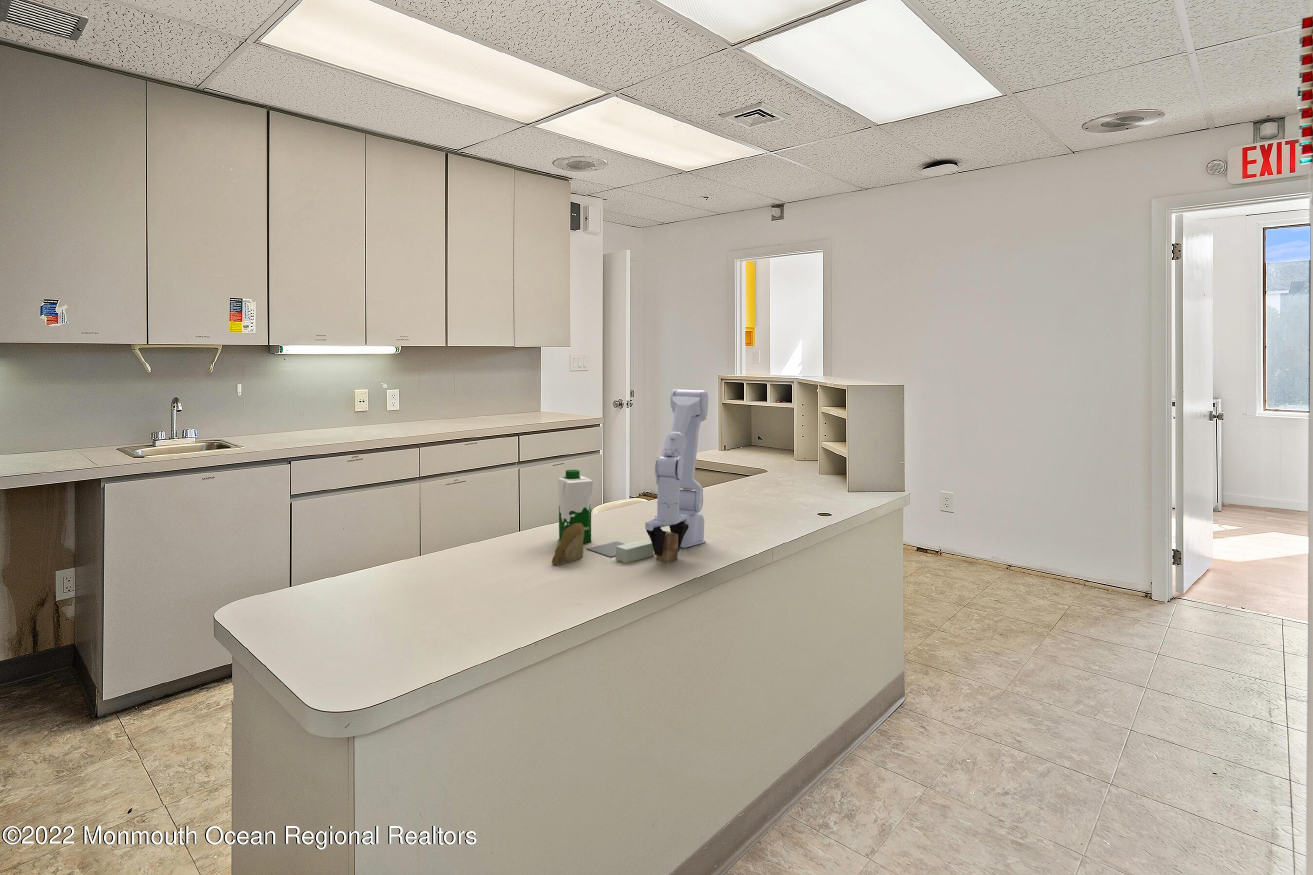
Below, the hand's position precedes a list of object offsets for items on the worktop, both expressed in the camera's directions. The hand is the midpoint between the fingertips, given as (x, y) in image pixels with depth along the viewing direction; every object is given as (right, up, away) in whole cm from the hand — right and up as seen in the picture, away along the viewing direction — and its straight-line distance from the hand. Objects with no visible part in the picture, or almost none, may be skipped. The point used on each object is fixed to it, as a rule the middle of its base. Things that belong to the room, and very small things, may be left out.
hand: (667, 552), depth 181 cm
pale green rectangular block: (-9, -2, +2) cm, 9 cm away
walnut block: (0, -2, 0) cm, 2 cm away
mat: (-14, -1, +8) cm, 17 cm away
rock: (-26, -2, -2) cm, 26 cm away
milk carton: (-26, 0, +16) cm, 31 cm away
